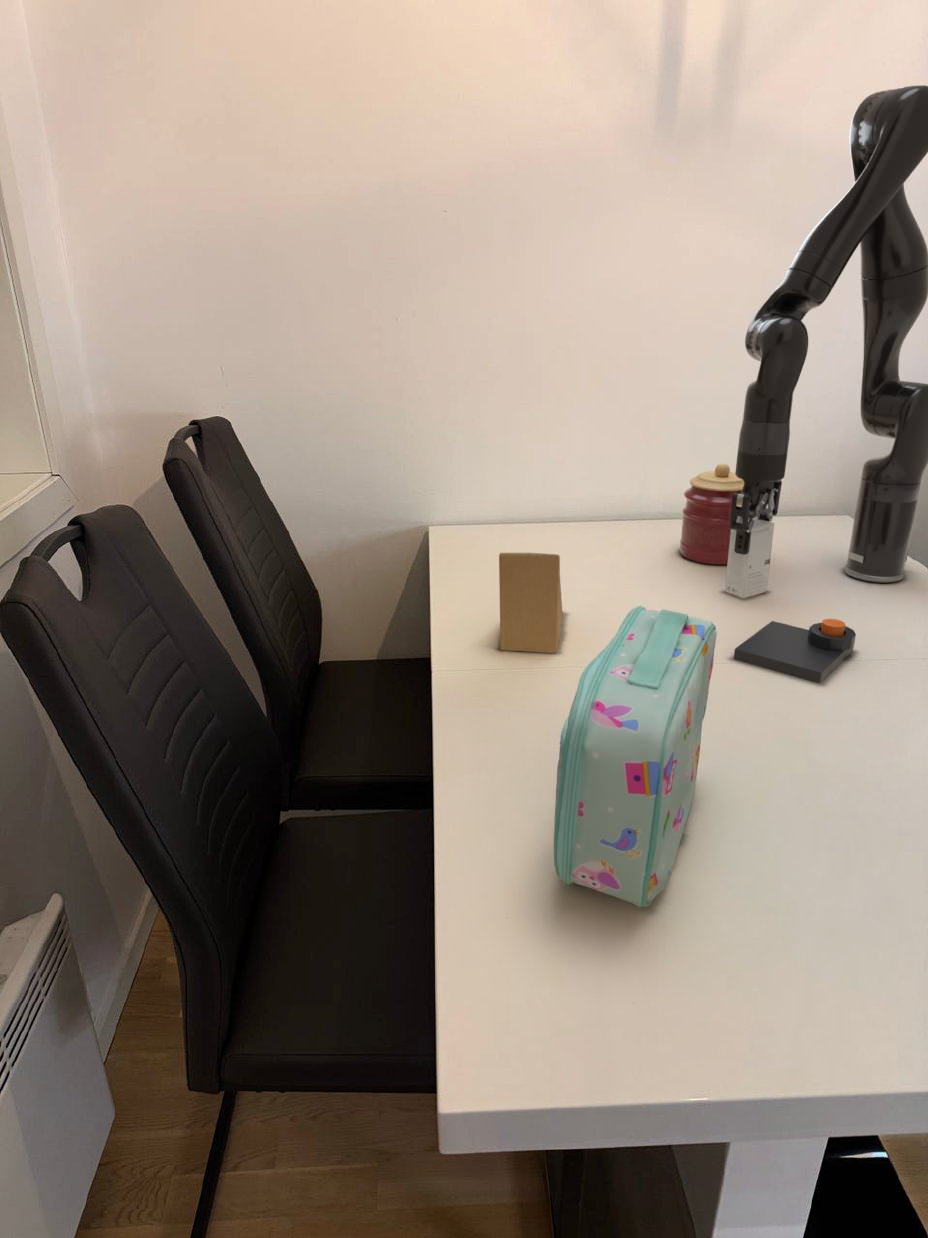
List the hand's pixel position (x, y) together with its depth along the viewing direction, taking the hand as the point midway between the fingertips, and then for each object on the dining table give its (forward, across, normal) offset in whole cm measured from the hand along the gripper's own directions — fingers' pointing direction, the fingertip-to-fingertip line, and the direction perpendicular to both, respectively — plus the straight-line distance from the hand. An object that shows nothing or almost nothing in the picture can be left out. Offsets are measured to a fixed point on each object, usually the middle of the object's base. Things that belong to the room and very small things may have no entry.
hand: (750, 547), depth 139 cm
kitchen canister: (+8, +15, +13) cm, 21 cm away
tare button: (+5, -16, -19) cm, 26 cm away
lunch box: (+8, -70, -19) cm, 73 cm away
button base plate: (+8, -20, -16) cm, 27 cm away
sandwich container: (+8, -36, +18) cm, 41 cm away
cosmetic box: (+8, 0, 0) cm, 8 cm away
